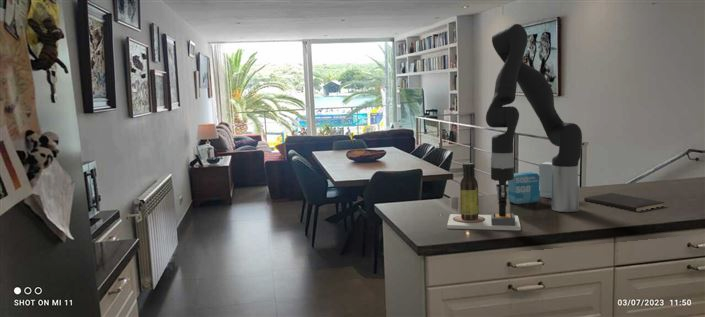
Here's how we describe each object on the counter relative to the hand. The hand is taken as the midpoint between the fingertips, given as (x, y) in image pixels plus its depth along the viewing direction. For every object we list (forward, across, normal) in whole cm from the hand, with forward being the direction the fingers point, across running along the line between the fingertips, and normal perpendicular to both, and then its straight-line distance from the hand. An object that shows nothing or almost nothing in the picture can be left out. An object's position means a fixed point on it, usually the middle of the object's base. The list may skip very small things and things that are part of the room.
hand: (502, 215), depth 176 cm
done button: (+2, 0, 0) cm, 2 cm away
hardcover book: (+4, -39, +47) cm, 61 cm away
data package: (+4, -40, +10) cm, 41 cm away
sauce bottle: (+3, -4, -11) cm, 12 cm away
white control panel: (+4, -3, -6) cm, 8 cm away
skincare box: (+4, -51, +22) cm, 56 cm away
